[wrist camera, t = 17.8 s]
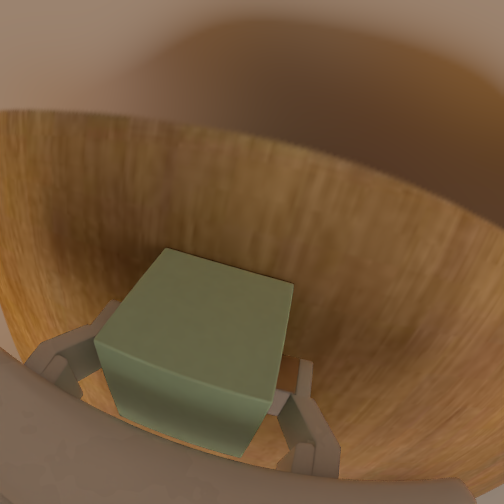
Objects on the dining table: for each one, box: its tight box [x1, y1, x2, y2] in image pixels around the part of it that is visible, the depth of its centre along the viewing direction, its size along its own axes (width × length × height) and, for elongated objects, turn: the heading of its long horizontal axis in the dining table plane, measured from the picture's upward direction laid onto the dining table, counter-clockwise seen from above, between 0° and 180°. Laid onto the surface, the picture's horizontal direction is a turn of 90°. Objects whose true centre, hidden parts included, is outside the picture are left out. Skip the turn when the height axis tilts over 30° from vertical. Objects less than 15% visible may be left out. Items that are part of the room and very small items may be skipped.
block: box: [94, 248, 294, 458], centre depth 10 cm, size 5×5×5 cm
